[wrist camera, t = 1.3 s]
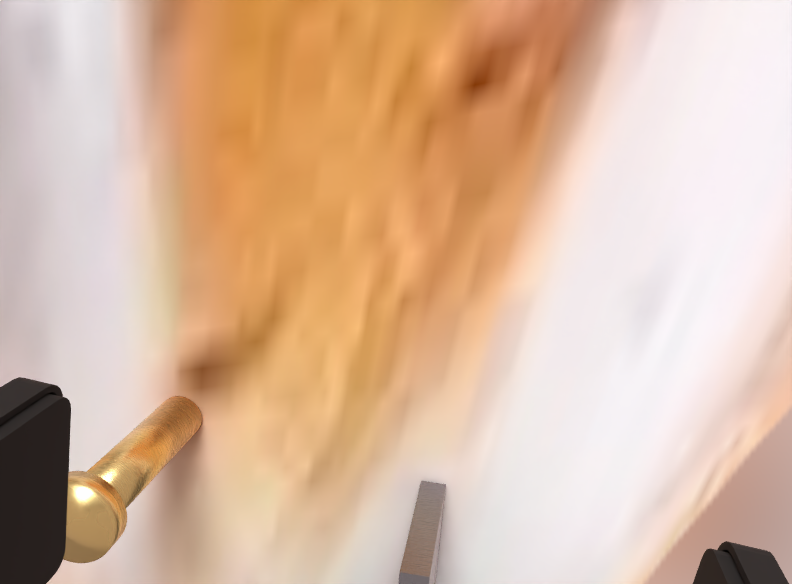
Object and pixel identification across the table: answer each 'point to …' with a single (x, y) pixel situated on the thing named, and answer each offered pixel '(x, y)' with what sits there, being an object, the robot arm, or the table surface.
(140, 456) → the hinge pin
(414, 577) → the hinge bracket
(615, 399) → the table surface
